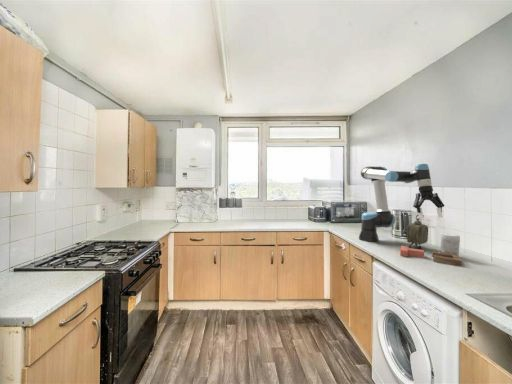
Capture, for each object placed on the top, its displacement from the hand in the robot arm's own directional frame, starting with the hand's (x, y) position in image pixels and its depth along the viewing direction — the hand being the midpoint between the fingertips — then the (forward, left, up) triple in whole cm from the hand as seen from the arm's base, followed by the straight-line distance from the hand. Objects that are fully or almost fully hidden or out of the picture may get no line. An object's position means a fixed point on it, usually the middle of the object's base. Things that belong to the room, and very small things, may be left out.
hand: (430, 217), depth 150 cm
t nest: (+2, +8, -26) cm, 28 cm away
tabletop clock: (-23, -6, -27) cm, 35 cm away
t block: (+2, -9, -26) cm, 28 cm away
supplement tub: (-12, +12, -27) cm, 31 cm away
